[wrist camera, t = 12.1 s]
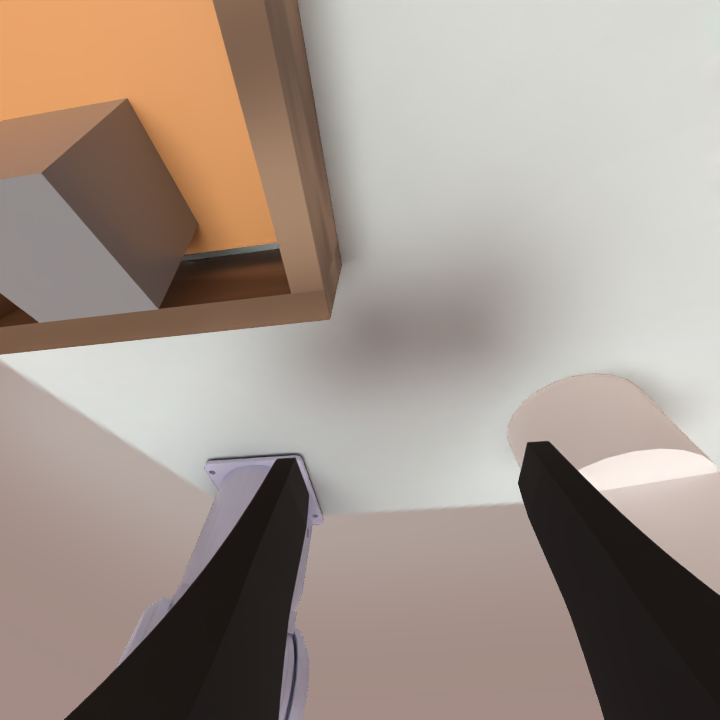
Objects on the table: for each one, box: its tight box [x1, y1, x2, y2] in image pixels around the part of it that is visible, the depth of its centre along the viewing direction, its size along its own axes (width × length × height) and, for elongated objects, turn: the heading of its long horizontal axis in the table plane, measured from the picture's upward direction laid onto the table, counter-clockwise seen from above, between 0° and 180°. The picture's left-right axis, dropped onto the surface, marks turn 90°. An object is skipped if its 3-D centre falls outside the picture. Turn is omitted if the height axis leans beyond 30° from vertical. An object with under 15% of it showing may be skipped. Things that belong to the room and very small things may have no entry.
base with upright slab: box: [507, 374, 720, 595], centre depth 19 cm, size 9×9×12 cm
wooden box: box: [0, 0, 342, 355], centre depth 12 cm, size 15×15×6 cm
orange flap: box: [0, 0, 278, 255], centre depth 11 cm, size 12×12×1 cm
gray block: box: [0, 98, 199, 323], centre depth 11 cm, size 4×4×5 cm
